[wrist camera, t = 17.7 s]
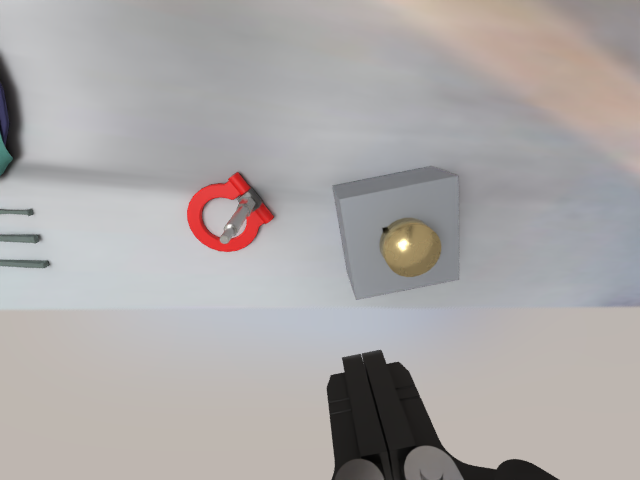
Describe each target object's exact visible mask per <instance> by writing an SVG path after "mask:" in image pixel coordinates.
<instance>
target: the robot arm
mask: <svg viewBox="0 0 640 480" xmlns="http://www.w3.org/2000/svg"><path fill="white" fill-rule="evenodd" d="M362 357H363V360H362ZM362 357H361V354H358V355H352V356H348V357H343V358H342V360H343V365H344V371H345V372H344V373H339V374H334V375H331V377H330V380H329V383H328V386H327V395H328V403H329V413H330V422H331V431H332V440H333V449H334V457H335V470H334V474H333V477H332V480H559V479H557V478H555V477H554V476H552V475H551V474H549V473H547V472H546V471H544V470H542V469H541V468H539V467H537V466H536V465H534V464H532V463H529V462H527V461H523V460H518V459H511V460H507V461H505V462H503V463H501V464H500V465H499V467H498V468H497V470H496V469H490V468H484V467H477V466H472V465H468V464H465V463H463V462H461V461H459V460H457V459H456V458H454V457H453V456H452V455H450V454H449V453H448V452H447V451H446V450H445V448H444V447H443V446H442V444H441V442H440V440H439V438H438V436H437V434H436V432H435V429H434V427H433V425H432V423H431V420H430V418H429V416H428V413H427V411H426V409H425V407H424V404H423V402H422V400H421V398H420V395H419V393H418V391H417V389H416V387H415V384H414V382H413V380H412V377H411V375H410V373H409V371H408V370H407V369H406V368H405V367H403V365H402V364H400V363H399V362H394V363H389V364H386V362H385V359H384V356H383V353H382V351H381V350H377V351H372V352H367V353H362ZM363 363H364V364H363Z"/></svg>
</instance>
